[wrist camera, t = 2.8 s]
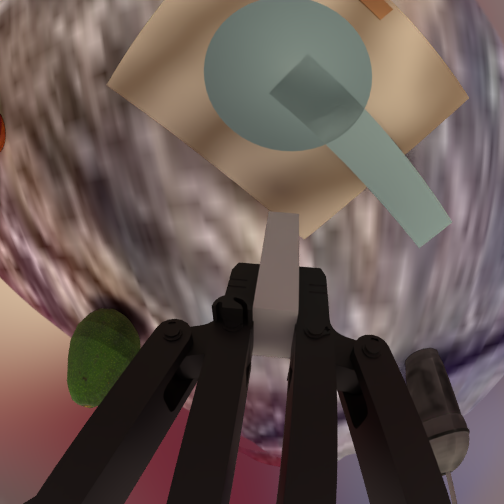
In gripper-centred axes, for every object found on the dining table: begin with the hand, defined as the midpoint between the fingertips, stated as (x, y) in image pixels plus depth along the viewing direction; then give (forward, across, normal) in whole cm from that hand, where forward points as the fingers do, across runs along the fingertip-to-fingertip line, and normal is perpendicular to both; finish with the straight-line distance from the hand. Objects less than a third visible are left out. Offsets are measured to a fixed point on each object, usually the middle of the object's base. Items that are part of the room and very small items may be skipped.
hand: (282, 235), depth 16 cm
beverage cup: (+8, +19, -21) cm, 29 cm away
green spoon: (+3, +3, +6) cm, 7 cm away
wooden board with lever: (+7, 0, +8) cm, 11 cm away
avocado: (+7, -18, -18) cm, 26 cm away
